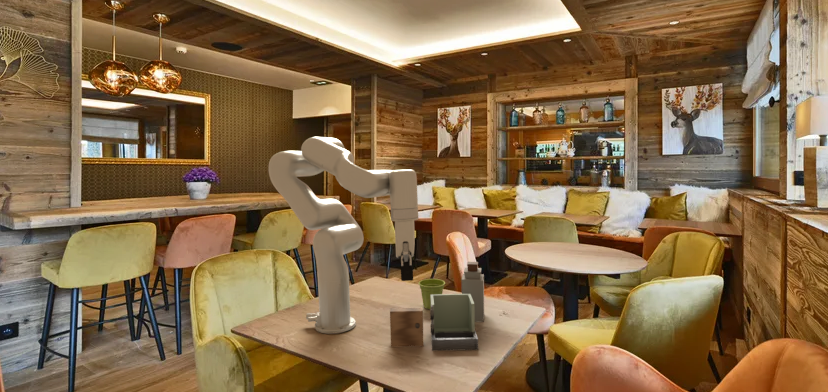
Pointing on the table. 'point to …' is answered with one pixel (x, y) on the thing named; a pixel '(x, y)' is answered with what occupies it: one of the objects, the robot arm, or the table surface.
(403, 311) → the door
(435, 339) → the grey brown open box
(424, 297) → the plant pot
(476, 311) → the perfume bottle
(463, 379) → the table surface
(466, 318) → the box
